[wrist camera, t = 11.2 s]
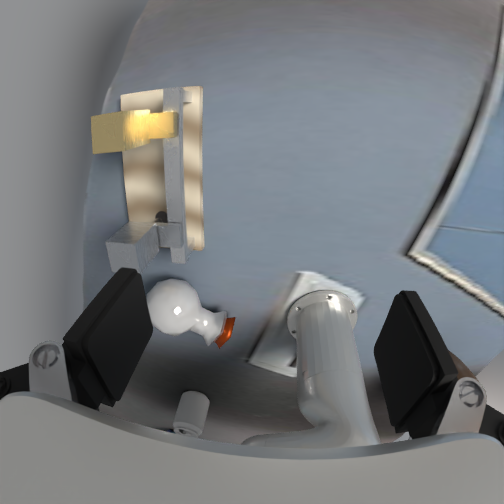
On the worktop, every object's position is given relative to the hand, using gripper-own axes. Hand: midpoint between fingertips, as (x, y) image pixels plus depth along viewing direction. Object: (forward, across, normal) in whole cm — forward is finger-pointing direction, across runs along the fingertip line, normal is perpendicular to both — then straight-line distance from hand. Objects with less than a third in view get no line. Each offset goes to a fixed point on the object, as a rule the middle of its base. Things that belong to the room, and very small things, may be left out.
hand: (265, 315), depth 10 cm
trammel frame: (+29, +15, +1) cm, 33 cm away
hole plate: (+30, +16, +2) cm, 35 cm away
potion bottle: (+31, +13, +24) cm, 41 cm away
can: (+31, +16, +58) cm, 67 cm away
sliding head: (+28, +15, -6) cm, 32 cm away
